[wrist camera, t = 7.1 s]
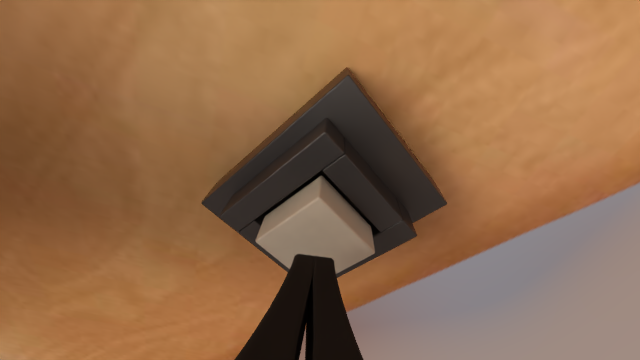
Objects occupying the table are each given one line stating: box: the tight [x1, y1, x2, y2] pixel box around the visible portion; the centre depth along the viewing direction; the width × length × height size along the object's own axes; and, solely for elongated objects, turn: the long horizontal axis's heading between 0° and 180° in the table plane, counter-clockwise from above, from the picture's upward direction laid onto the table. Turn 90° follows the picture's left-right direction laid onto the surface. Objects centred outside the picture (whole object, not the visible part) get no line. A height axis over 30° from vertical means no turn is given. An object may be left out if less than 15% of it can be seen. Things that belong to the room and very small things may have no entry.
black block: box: [202, 68, 447, 278], centre depth 14 cm, size 10×8×4 cm
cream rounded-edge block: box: [255, 175, 375, 274], centre depth 12 cm, size 4×4×2 cm
